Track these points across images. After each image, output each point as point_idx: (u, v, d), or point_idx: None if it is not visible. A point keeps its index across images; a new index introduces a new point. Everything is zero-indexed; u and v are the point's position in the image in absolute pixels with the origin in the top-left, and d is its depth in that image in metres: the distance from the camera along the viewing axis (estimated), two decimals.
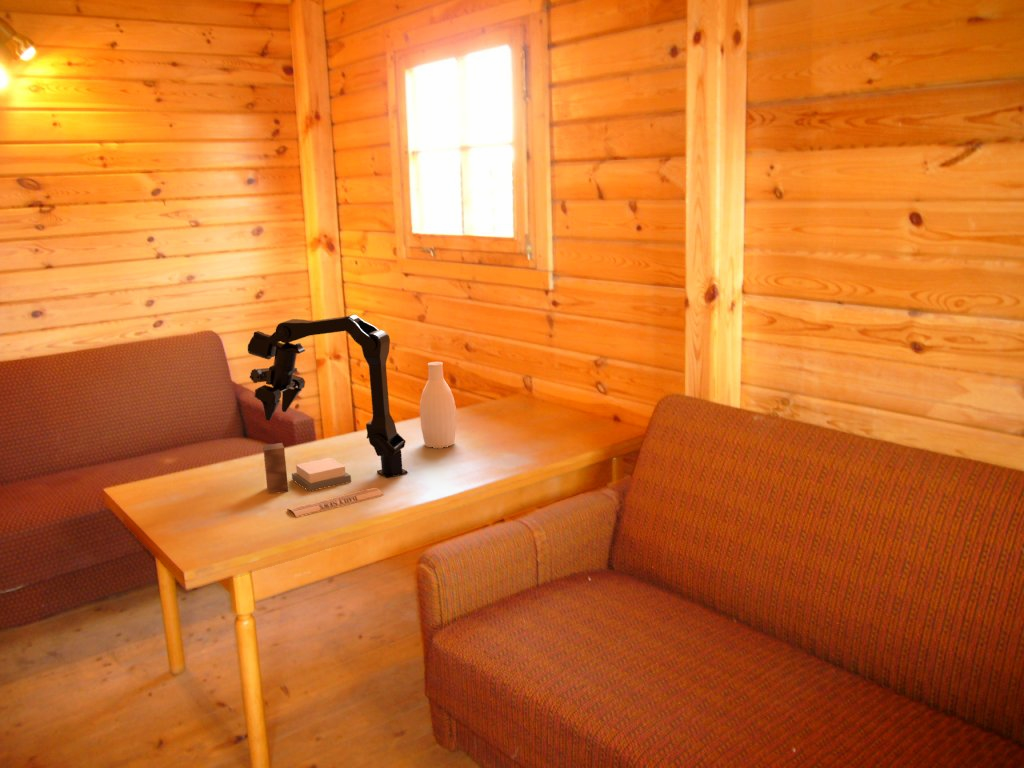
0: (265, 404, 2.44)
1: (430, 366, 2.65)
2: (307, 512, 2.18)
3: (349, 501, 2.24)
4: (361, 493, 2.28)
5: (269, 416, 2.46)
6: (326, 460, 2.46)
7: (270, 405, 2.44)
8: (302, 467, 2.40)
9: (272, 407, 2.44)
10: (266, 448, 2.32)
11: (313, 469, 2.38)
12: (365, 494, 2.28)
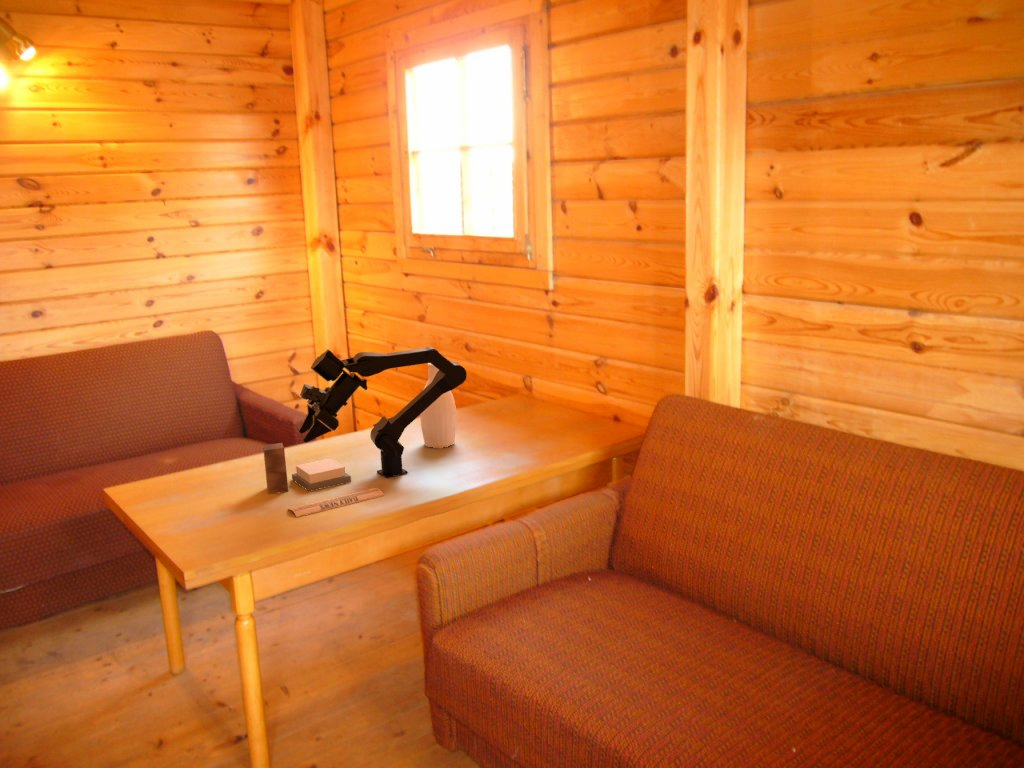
0: (315, 426, 2.30)
1: (430, 366, 2.65)
2: (307, 512, 2.18)
3: (350, 501, 2.24)
4: (362, 493, 2.28)
5: (309, 439, 2.31)
6: (326, 461, 2.46)
7: (319, 429, 2.31)
8: (302, 468, 2.40)
9: (321, 432, 2.31)
10: (266, 448, 2.32)
11: (313, 469, 2.38)
12: (366, 494, 2.28)
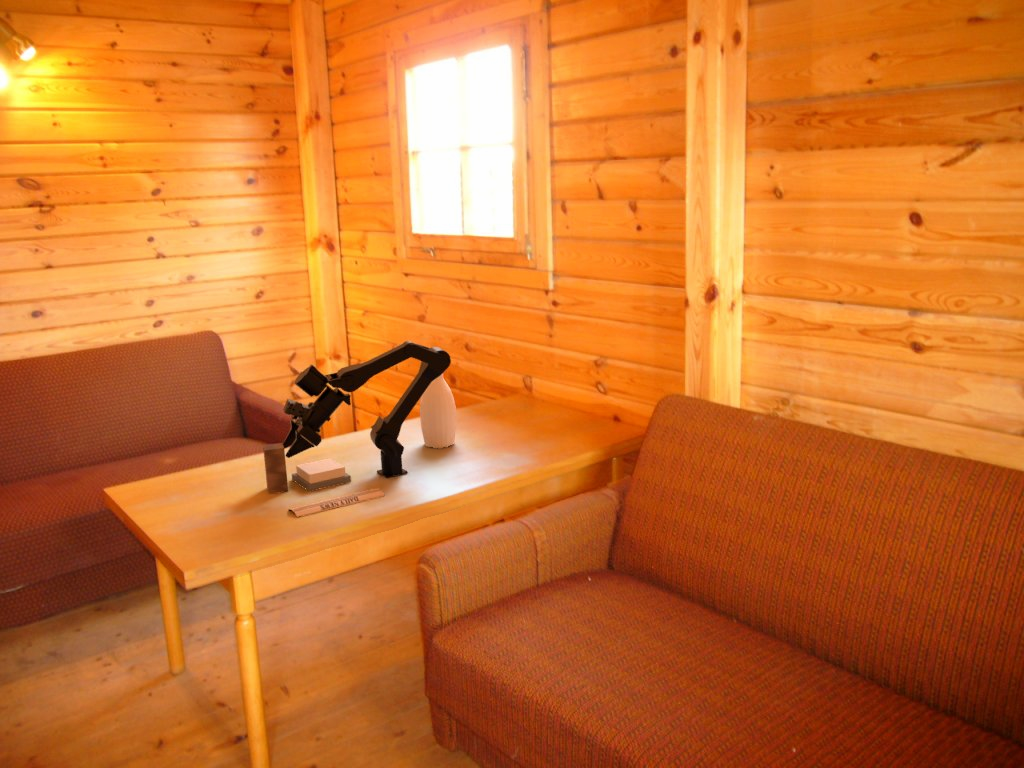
0: (297, 442, 2.30)
1: None
2: (308, 512, 2.18)
3: (350, 501, 2.24)
4: (362, 493, 2.28)
5: (292, 454, 2.31)
6: (326, 461, 2.45)
7: (301, 445, 2.30)
8: (302, 468, 2.40)
9: (303, 448, 2.30)
10: (266, 448, 2.32)
11: (313, 469, 2.38)
12: (367, 494, 2.28)
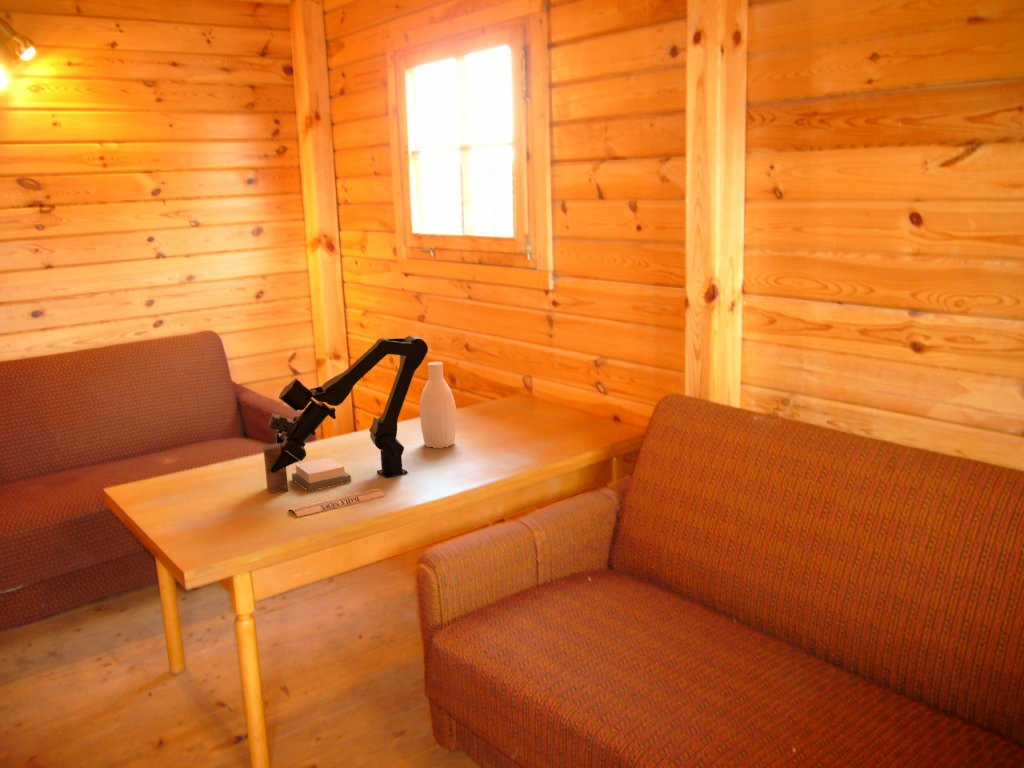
0: (282, 457, 2.29)
1: (430, 366, 2.65)
2: (308, 512, 2.18)
3: (351, 502, 2.24)
4: (363, 494, 2.28)
5: (277, 469, 2.30)
6: (326, 460, 2.46)
7: (286, 459, 2.30)
8: (301, 467, 2.40)
9: (288, 462, 2.30)
10: (266, 448, 2.32)
11: (313, 469, 2.38)
12: (367, 494, 2.27)
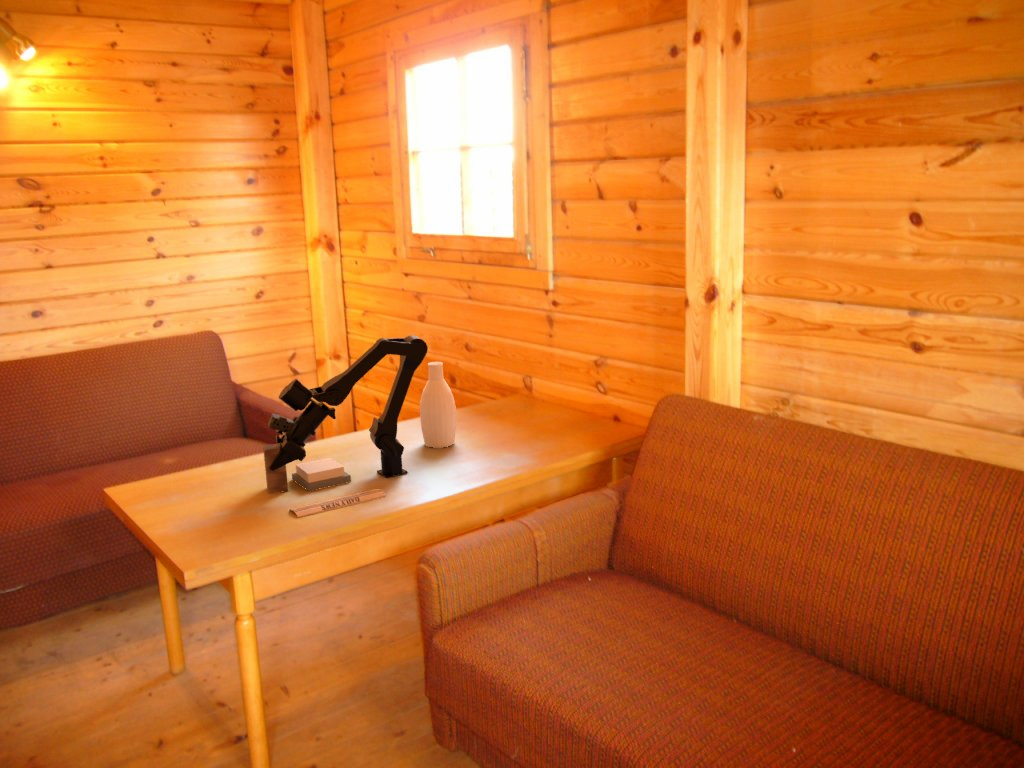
0: (281, 455, 2.31)
1: (430, 366, 2.65)
2: (309, 513, 2.18)
3: (351, 502, 2.24)
4: (364, 494, 2.28)
5: (276, 467, 2.32)
6: (326, 460, 2.46)
7: (285, 457, 2.31)
8: (301, 467, 2.40)
9: (287, 460, 2.31)
10: (266, 448, 2.32)
11: (312, 469, 2.38)
12: (368, 495, 2.27)
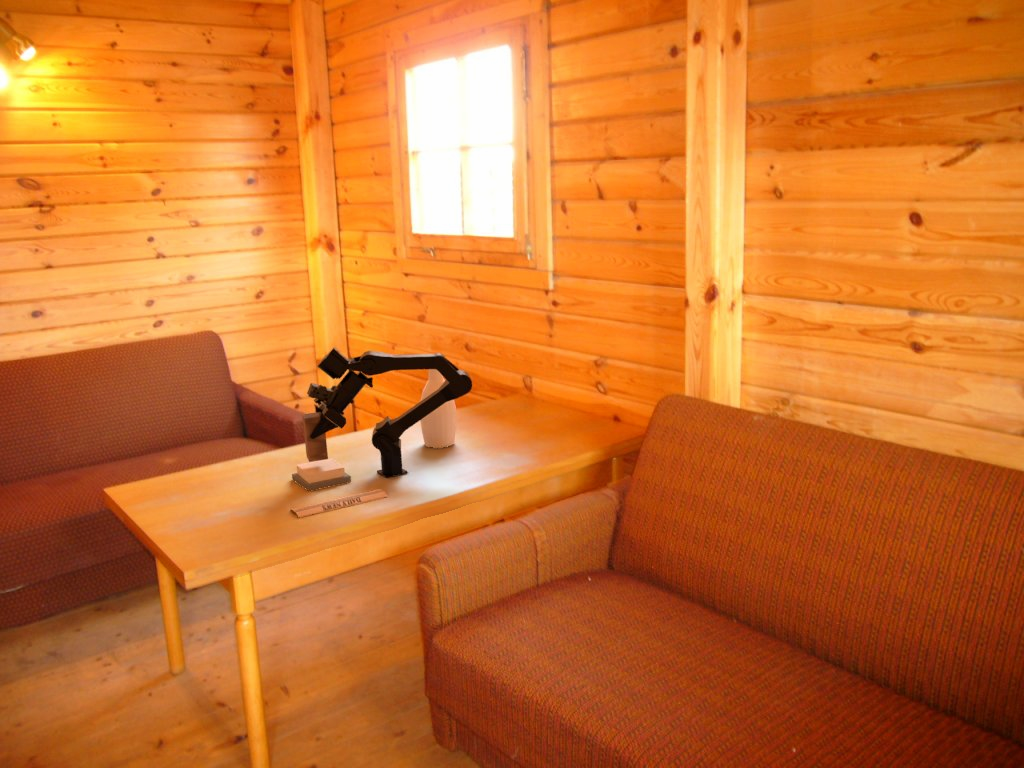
0: (321, 423, 2.35)
1: None
2: (310, 513, 2.17)
3: (352, 502, 2.23)
4: (365, 494, 2.27)
5: (316, 435, 2.36)
6: (327, 460, 2.46)
7: (325, 425, 2.35)
8: (302, 468, 2.40)
9: (327, 428, 2.35)
10: (306, 417, 2.36)
11: (313, 469, 2.39)
12: (369, 495, 2.27)
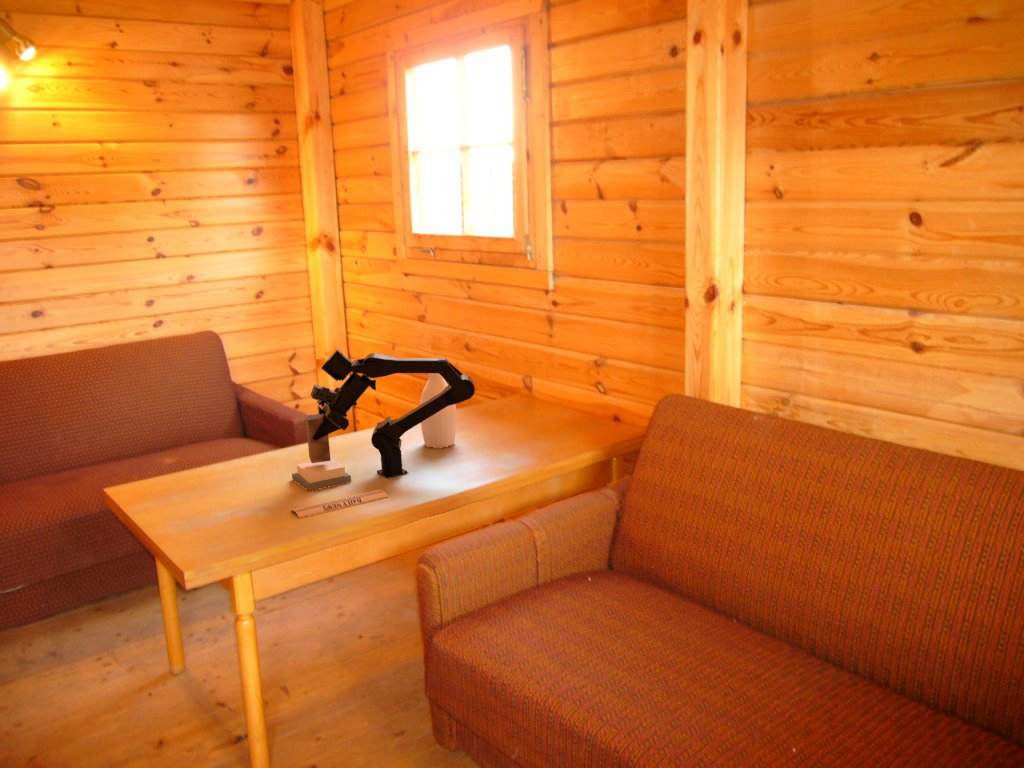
0: (324, 424, 2.35)
1: None
2: (310, 513, 2.17)
3: (353, 503, 2.23)
4: (366, 495, 2.27)
5: (319, 436, 2.36)
6: None
7: (328, 427, 2.36)
8: (302, 467, 2.40)
9: (330, 430, 2.36)
10: (309, 418, 2.37)
11: (313, 469, 2.38)
12: (370, 495, 2.27)
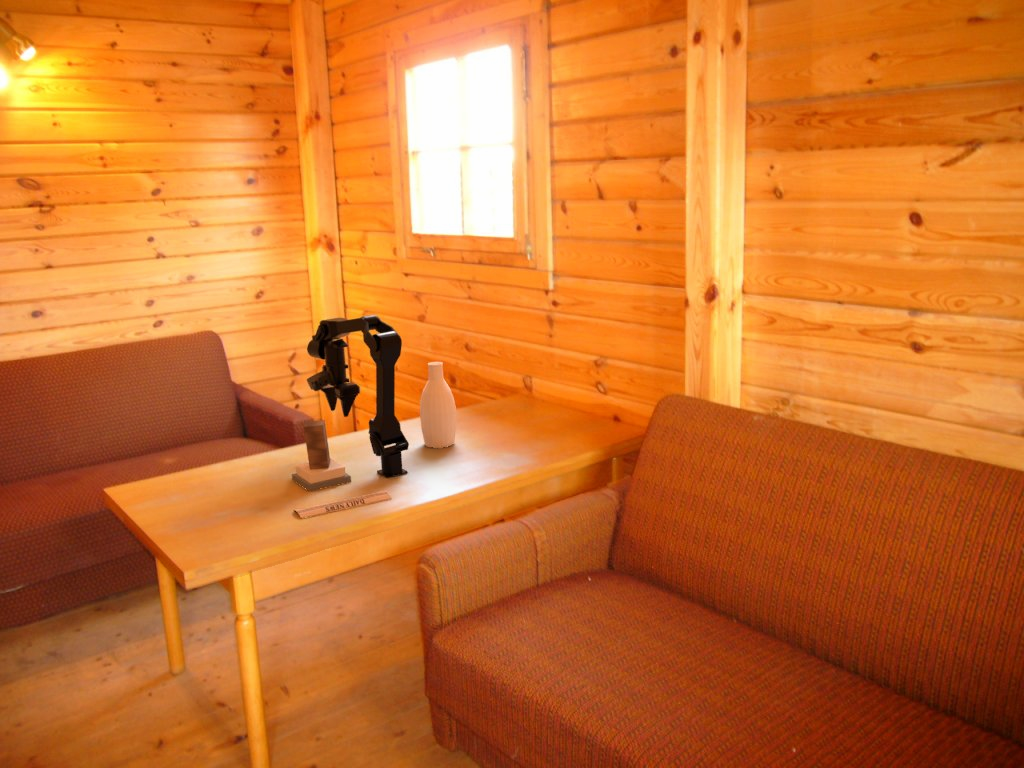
0: (344, 401, 2.54)
1: (430, 366, 2.65)
2: (312, 514, 2.17)
3: (356, 504, 2.22)
4: (369, 496, 2.26)
5: (348, 411, 2.56)
6: None
7: (348, 400, 2.55)
8: (302, 468, 2.40)
9: (351, 401, 2.55)
10: (306, 425, 2.37)
11: (313, 469, 2.38)
12: (373, 497, 2.26)
